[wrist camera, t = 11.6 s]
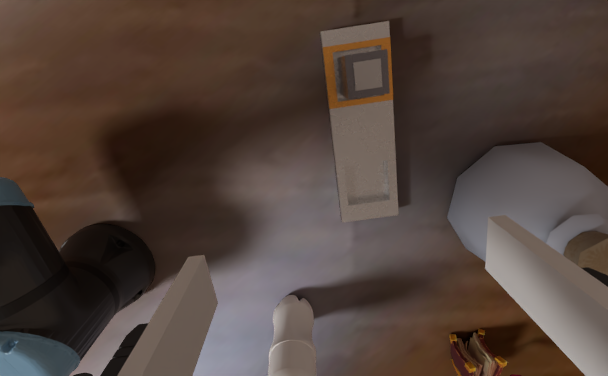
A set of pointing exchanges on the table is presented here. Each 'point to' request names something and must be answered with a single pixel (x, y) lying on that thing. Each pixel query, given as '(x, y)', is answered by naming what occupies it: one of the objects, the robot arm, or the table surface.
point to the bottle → (534, 202)
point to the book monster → (475, 357)
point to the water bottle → (292, 339)
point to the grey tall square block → (364, 74)
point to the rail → (361, 128)
